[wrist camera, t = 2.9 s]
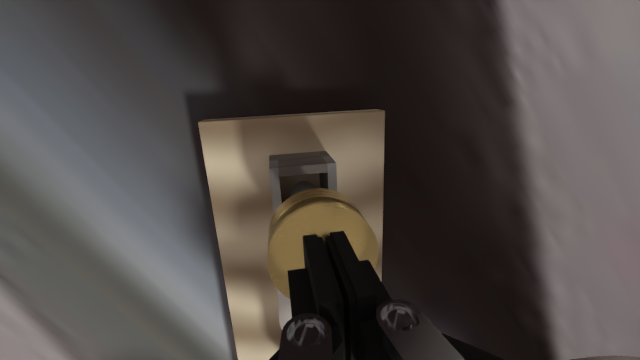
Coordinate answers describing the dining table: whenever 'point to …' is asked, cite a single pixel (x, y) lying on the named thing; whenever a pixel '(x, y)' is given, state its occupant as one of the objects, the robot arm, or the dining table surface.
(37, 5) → the dining table surface
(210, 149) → the mount board
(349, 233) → the knob
